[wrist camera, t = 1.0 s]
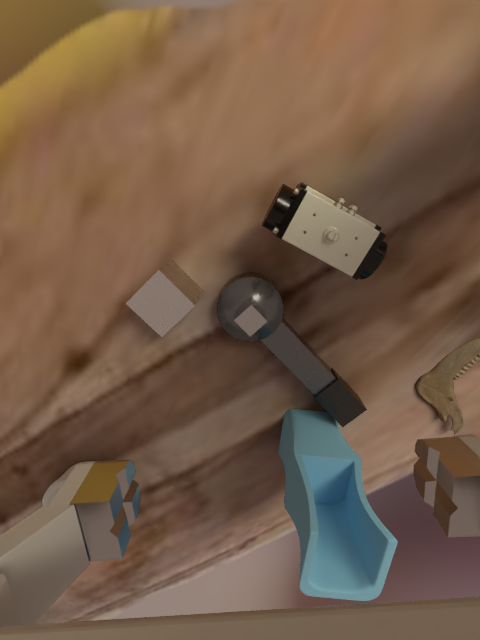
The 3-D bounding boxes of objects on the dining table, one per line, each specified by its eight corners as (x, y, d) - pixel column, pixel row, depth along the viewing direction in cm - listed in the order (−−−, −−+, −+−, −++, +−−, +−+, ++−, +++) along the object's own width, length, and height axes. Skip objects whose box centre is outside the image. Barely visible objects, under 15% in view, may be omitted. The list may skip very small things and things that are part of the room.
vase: (339, 413, 49) (398, 541, 30) (329, 458, 51) (378, 603, 32) (285, 407, 49) (310, 532, 30) (277, 452, 51) (296, 595, 32)
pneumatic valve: (340, 268, 43) (374, 289, 31) (258, 224, 41) (262, 229, 30) (364, 228, 41) (410, 234, 30) (280, 180, 40) (294, 168, 28)
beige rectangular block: (173, 260, 43) (158, 269, 36) (203, 291, 44) (195, 305, 37) (144, 289, 44) (125, 303, 37) (174, 318, 45) (161, 337, 38)
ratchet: (251, 259, 42) (252, 269, 35) (370, 387, 48) (392, 418, 40) (206, 301, 44) (199, 319, 37) (325, 420, 49) (338, 456, 42)
